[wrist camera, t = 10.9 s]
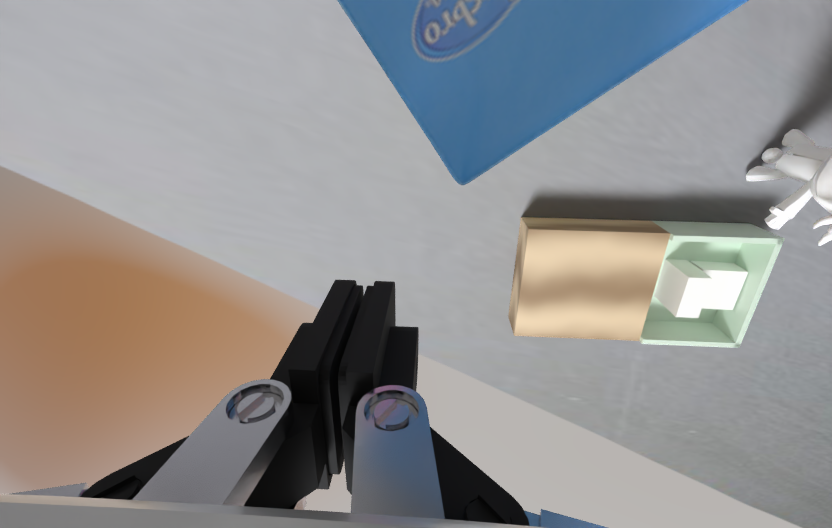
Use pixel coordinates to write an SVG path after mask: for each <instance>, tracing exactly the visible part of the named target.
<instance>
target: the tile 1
mask: <svg viewBox="0 0 832 528" xmlns="http://www.w3.org/2000/svg"><path fill="white" fill-rule="evenodd" d="M712 279H713V278H711V277H710V276H708V275H707V274H706V273H704V272H703V271H701V270H700V269H699V268H697V267H696V266H694V265H693V264H692V263H690V262H689V261H687V260H675V259H665V261H664V265H663V268H662V271H661V275H660V278H659V281H658V284H657V288H656V291H655V294H654V296H655V297H656V298H657V299H658V300H659V301H660V302H661V303H662V304H663V305H664V306H665V307H666V308H667V309H668V310H669V311H670V312H671V313H672V314H673V315H674V316H675V317H685V318H698V317H699V315H700V312H701V309H702V306H703V304H704V301H705V298H706V295H707V293H708V290H709V287H710V284H711V282H712Z"/></svg>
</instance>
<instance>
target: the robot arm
mask: <svg viewBox="0 0 832 528" xmlns="http://www.w3.org/2000/svg"><path fill="white" fill-rule="evenodd" d="M417 369H418V327H398V326H395V282H384V281H375V283H374V286H367V289H366V291H365V294H364V295H363V286H359V285H357V284H356V281H355V280H335V282H334V283H333V285H332V287H331V289H330V291H329V293H328V295H327V297H326V299H325V301H324V303H323V304H322V306H321V308H320V310H319V312H318V314H317V316H316V318H315V320H314V322H313V323H303V324H302V325H301V326H300V327H299V329H298V331H297V333H296V335H295V336H294V338H293V340H292V342H291V343H290V345H289V347H288V348H287V350H286V352H285V354H284V356H283V357H282V359H281V361H280V362H279V364H278V366H277V368H276V370H275V371H274V373H273V375H272V376H271V378H270V380H269V379H263V380H256V381H251V382H248V383H245V384H243V385H241V386H239V387H237V388H235V389H234V390H232V391H231V392H230V393H229V394H227V395H226V396H225V397H224V398H223V399H222V400H221V402H220V403H219V404H218V405H217V406H216V407H215V408H214V409H213V411H211V413H210V414H209V415H208V416H207V417H206V418H205V419H204V421H202V423H201V424H200V425H199V426H198V427H197V428H196V429H195V431H194V432H193V433H192V434H191V435H190V436H188V437H186V438H183V439H181V440H179V441H177V442H176V443H173V444H171V445H169V446H167V447H165V448H163V449H161V450H159V451H157V452H155V453H153V454H151V455H148V456H146V457H144V458H142V459H140V460H138V461H137V462H134V463H132V464H130V465H128V466H126V467H124V468H122V469H120V470H118V471H116V472H113V473H112V474H110V475H108V476H106V477H105V478H103V479H101V480H99V481H98V482H96V483H95V484H94V485H92V486H91V487H90V488H89V487H88V485H87V483H81V484H74V485H67V486H60V487H54V488H47V489H40V490H34V491H26V492H19V493H12V494H0V528H607V527H603V526H600V525H596V524H593V523H589V522H585V521H581V520H578V519H574V518H571V517H567V516H564V515H560V514H557V513H553V512H550V511H546V510H542V509H541V512H540V515H537V514H534V513H530V512H527V511H524V510H523V508H522V507H521V506H520V504H519V503H518V502H517V501H516V500H515V499H514V498H513V497H512V496H511V495H510V494H509V493H507V492H506V491H505V490H504V489H503V488H502V487H500V486H499V485H498V484H497V483H496V482H495V481H493V480H492V479H491V478H490V477H489V476H487V475H486V474H485V473H484V472H483V471H482V470H480V469H479V468H478V467H477V466H476V465H474V464H473V463H472V462H471V461H470V460H469V459H467V458H466V457H465V456H464V455H463V454H461V453H460V452H459V451H458V450H457V449H456V448H454V447H453V446H452V445H451V444H450V443H449V442H447V441H446V440H445V439H444V438H442V437H441V436H440V435H439V434H438V433H437V432H436V431H434V430H433V429H432V428H431V427H430V425H429V419H428V413H427V407H426V404H425V402H424V399H423V398H422V397H421V396H420V395H419V394H418V393H417V392H416V386H417ZM344 461H345V472H346V482H347V490H348V491H349V492H350V493H351V495H352V501H351V513H343V512H328V511H312V510H304V509H305V506H306V496H307V495H308V494H310V493H311V492H313V491H314V490H316V489H329V486H330V483H331V479H332V475H333V474H340V472H341V469H342V466H343V462H344Z"/></svg>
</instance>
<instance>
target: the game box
mask: <svg viewBox="0 0 832 528" xmlns="http://www.w3.org/2000/svg"><path fill="white" fill-rule="evenodd" d="M337 1H338V2H339V4H340V5H341V7H342V8H343V10H344V11H345V13H346V14H347V16H348V17H349V19H350V20H351V22H352V23H353V25H354V26H355V28H356V29H357V31H358V32H359V34H360V35H361V37H362V38H363V40H364V41H365V43H366V44H367V45H368V47H369V48H370V50H371V52H372V53H373V55H374V56H375V58H376V59H377V61H378V62H379V64H380V65H381V67H382V68H383V70H384V72H385V73H386V75H387V76H388V78H389V79H390V81H391V82H392V84H393V85H394V87H395V88H396V90H397V92H398V93H399V95H400V96H401V98H402V99H403V101H404V102H405V104H406V105H407V107H408V108H409V110H410V112H411V113H412V115H413V116H414V118H415V119H416V121H417V122H418V124H419V125H420V127H421V128H422V130H423V131H424V133H425V134H426V136H427V137H428V139H429V140H430V142H431V144H432V145H433V147H434V148H435V150H436V151H437V153H438V155H439V156H440V158H441V159H442V161H443V163H444V164H445V166H446V167H447V169H448V170H449V172H450V174H451V175H452V177H453V178H454V179H455V180H456V181H457V183H458V184H460V185H465V184H467V183H469V182H471V181H472V180H474V179H475V178H477V177H478V176H480V175H481V174H483V173H485V172H486V171H488V170H489V169H491V168H492V167H494V166H495V165H497V164H498V163H500V162H501V161H503V160H504V159H506V158H507V157H509V156H510V155H512V154H513V153H515V152H516V151H518V150H519V149H521V148H522V147H524V146H525V145H527V144H528V143H530V142H531V141H533V140H534V139H536V138H537V137H539V136H540V135H542V134H543V133H545V132H546V131H548V130H549V129H551V128H553V127H554V126H556V125H557V124H559V123H560V122H562V121H563V120H565V119H566V118H568V117H569V116H571V115H573V114H574V113H576V112H577V111H579V110H580V109H582V108H583V107H585V106H586V105H588V104H589V103H591V102H593V101H594V100H596V99H597V98H599V97H600V96H602V95H603V94H605V93H606V92H608V91H609V90H611V89H613V88H614V87H616V86H617V85H619V84H620V83H622V82H623V81H625V80H626V79H628V78H629V77H631V76H633V75H634V74H636V73H637V72H639V71H640V70H642V69H643V68H645V67H646V66H648V65H649V64H651V63H653V62H654V61H656V60H657V59H659V58H660V57H662V56H663V55H665V54H666V53H668V52H669V51H671V50H673V49H674V48H676V47H677V46H679V45H680V44H682V43H683V42H685V41H686V40H688V39H690V38H691V37H693V36H694V35H696V34H697V33H699V32H700V31H702V30H704V29H705V28H707V27H708V26H710V25H711V24H713V23H714V22H716V21H717V20H719V19H721V18H722V17H724V16H725V15H727V14H728V13H730V12H731V11H733V10H735V9H736V8H738V7H739V6H741V5H742V4H744V3H745V2H747V1H748V0H337Z"/></svg>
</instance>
